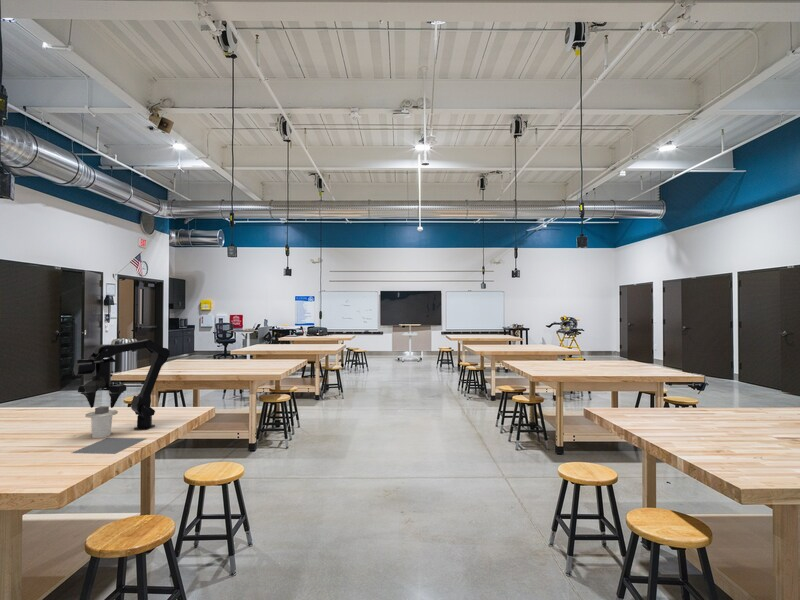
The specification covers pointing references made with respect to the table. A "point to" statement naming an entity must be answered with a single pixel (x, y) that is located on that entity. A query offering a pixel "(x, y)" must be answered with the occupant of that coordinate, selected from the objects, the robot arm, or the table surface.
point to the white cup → (101, 426)
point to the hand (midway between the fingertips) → (102, 407)
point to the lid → (101, 412)
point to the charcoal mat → (110, 445)
